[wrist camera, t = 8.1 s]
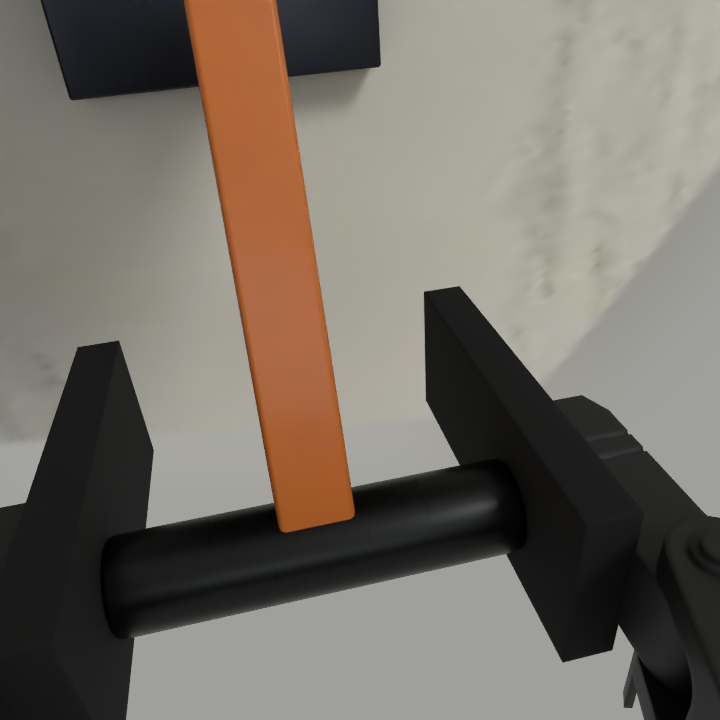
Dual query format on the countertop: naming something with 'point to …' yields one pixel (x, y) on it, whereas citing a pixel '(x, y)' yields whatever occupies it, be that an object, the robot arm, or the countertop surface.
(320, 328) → the switch lever
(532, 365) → the countertop surface
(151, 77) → the switch bracket
